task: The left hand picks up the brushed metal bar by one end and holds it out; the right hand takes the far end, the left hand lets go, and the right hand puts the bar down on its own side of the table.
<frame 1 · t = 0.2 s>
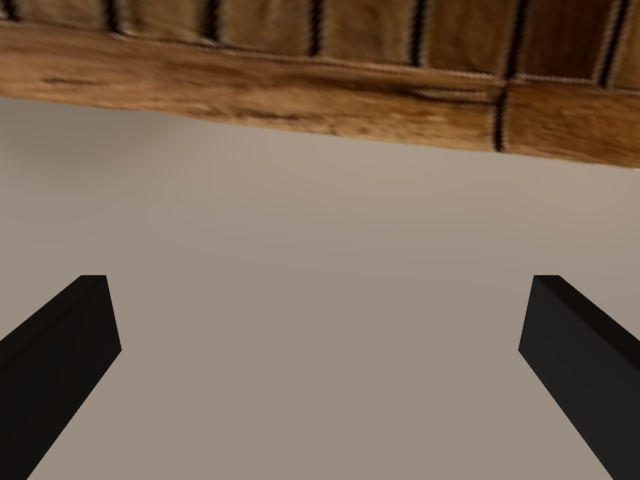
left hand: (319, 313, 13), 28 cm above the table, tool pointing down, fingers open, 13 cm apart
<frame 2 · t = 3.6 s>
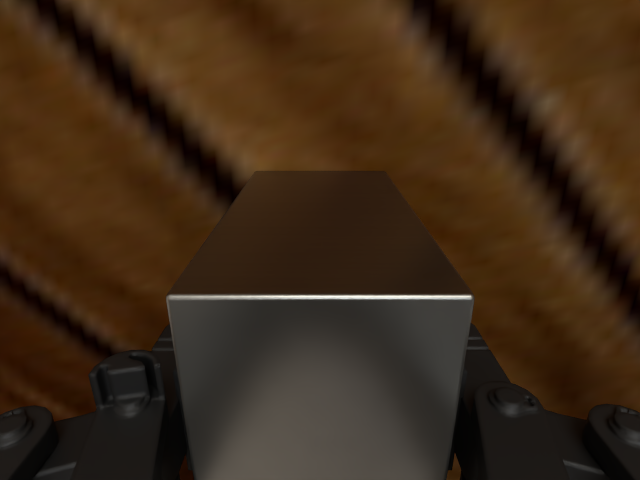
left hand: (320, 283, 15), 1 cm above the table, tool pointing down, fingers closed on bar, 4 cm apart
bar: (320, 446, 18), on the table, touching left hand
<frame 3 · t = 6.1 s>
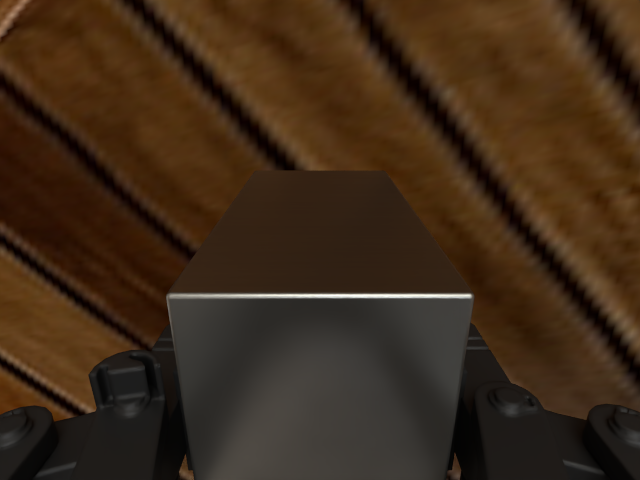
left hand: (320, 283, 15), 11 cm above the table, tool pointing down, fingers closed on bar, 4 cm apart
bar: (320, 446, 18), point 11 cm above the table, touching left hand
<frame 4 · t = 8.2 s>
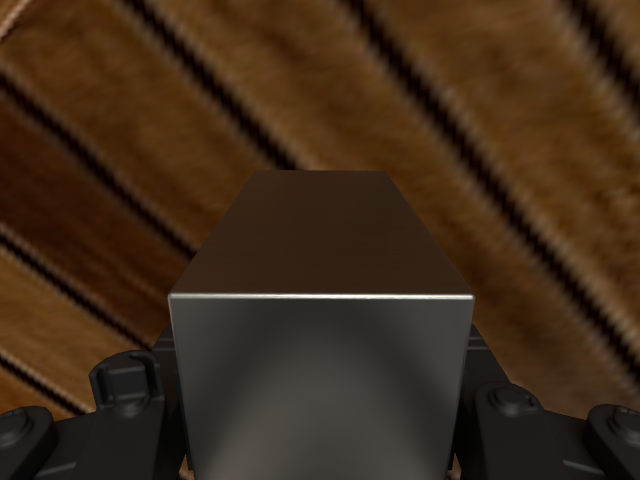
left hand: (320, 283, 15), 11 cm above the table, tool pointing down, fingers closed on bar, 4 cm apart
bar: (319, 445, 18), point 11 cm above the table, touching left hand, right hand
when the left hand's fingers open (11 cm above the table, at t = 8.7 s): bar stays where it is, held by the right hand.
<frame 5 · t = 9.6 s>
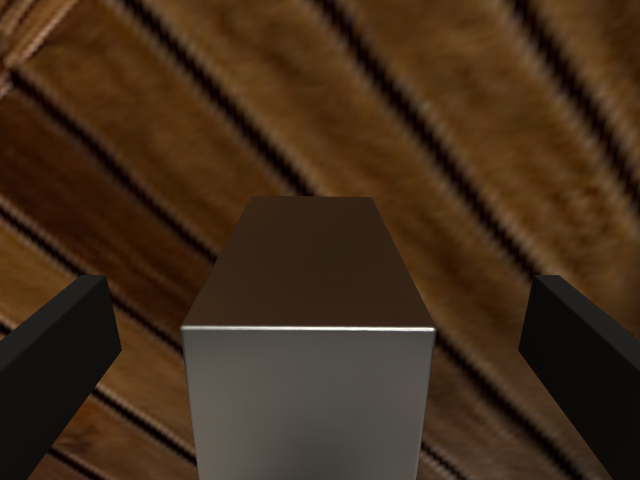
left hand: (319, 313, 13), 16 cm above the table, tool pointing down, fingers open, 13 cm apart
bar: (310, 449, 19), point 13 cm above the table, touching right hand
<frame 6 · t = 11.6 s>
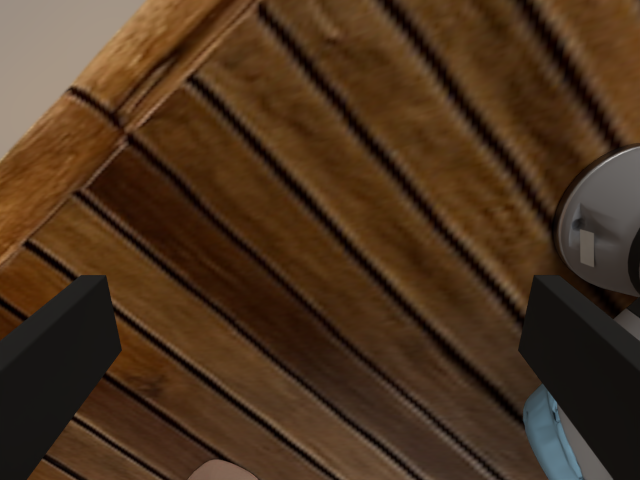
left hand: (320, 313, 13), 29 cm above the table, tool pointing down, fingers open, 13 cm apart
when the right hand's fingers open (3 cm above the table, at t = 15.0 s): bar drops 2 cm, on the table.
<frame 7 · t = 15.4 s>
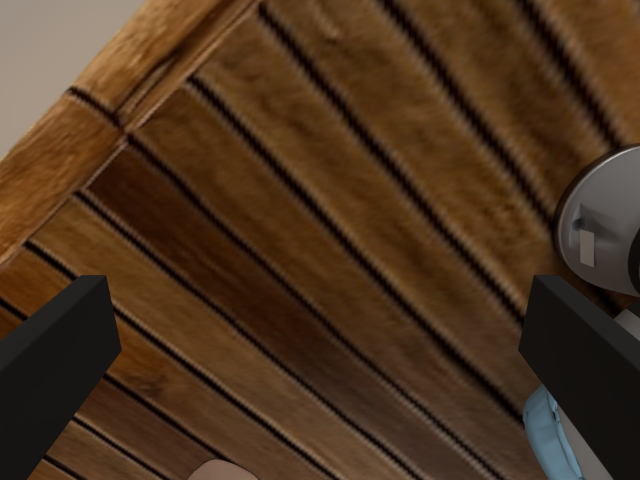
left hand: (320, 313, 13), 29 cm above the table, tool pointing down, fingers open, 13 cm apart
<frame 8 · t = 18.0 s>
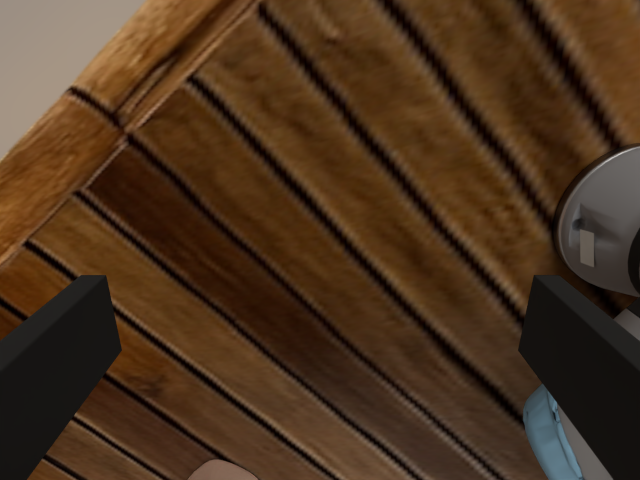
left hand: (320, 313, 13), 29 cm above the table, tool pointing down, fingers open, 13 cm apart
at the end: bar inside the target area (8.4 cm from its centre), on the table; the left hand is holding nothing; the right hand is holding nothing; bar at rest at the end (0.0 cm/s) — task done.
